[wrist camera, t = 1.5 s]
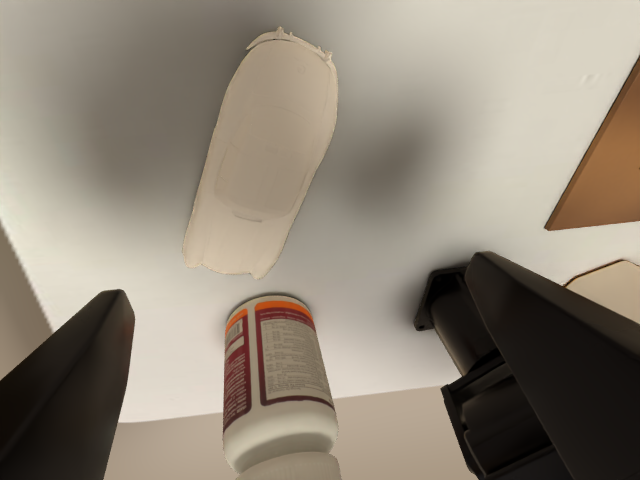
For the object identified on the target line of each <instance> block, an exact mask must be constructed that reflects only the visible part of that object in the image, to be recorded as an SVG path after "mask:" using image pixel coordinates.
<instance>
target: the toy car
mask: <svg viewBox="0 0 640 480" xmlns="http://www.w3.org/2000/svg"><path fill="white" fill-rule="evenodd" d="M283 32H284V29H283V28H282V27H280V26H279V27H278V29H277V31H276V32H267V33H264V34H262V35H260V36H259V37H257V38H256V39H255V40H254V41H253V42H252V43H251V44H250V45H249V46H248V47H247V49H246V50H249V49H250V48H251V47H253V46H254V45H256V44H257V45H256V47H254V48H253V49H252V50H251V51H250V52H249V53H248V54H247V55H246V57H245V58H244V59H243V61H242V62H241V64H240V65H239V67H238V69H237V71H236V73H235V74H234V76H233V78H232V80H231V82H230V84H229V86H228V88H227V91H226V93H225V96H224V99H223V102H222V106H221V109H220V112H219V116H218V120H217V125H216V127H215V128H214V132H213V135H212V139H211V143H210V147H209V151H208V155H207V156H206V157H207V159H206V162H205V166H204V170H203V173H202V177H201V181H200V185H199V187H198V190H197V194H196V197H195V201H194V205H193V206H194V207H193V213H192V216H191V218H190V221H189V224H188V227H187V231H186V234H185V238H184V243H183V248H182V253H183V255H184V261H185V264H186V266H187V267H189V268H196V267H197V266H199V265H200V264H201V265H204V266H205V267H207V268H209V269H211V270H213V271H215V272H218V273H222V274H231V275H235V274H244V273H250V274H251V275H252V276H253V278H255V279H261V278H263V277H264V276H265V275H266V274H267V273H268V272H269V270H270V269H271V268H272V267H273V266H274V264H275V263H276V261H277V260H278V258H279V256H280V254H281V251H282V249H283V247H284V244H285V242H286V239H287V236H288V233H289V231H290V228H291V226H292V224H293V222H294V220H295V217H296V215H297V213H298V211H299V209H300V207H301V204H302V202H303V200H304V198H305V195H306V193H307V191H308V188H309V186H310V184H311V181H312V179H313V176H314V174H315V172H316V170H317V168H318V166H319V165H320V163H321V161H322V159H323V157H324V155H325V153H326V151H327V149H328V146H329V144H330V141H331V139H332V136H333V132H334V129H335V125H336V120H337V104H338V77H337V72H336V68H335V66H334V64H333V62H332V61H331V57H332V53H331V52H329V51H327V50H325V52H322V51H321V50H320V49H321V47H320V46H318V47H317V48H316V47H315V46H313V45H311V44H309V43H308V42H306V41H304V40H302V39H299V38H297V37H295V36H292V34H293V33H292V32H290V34H286V33H283ZM269 39H276V40H269ZM281 39H285V40H289V41H284V40H281ZM265 40H268V41H265ZM262 41H265V42H262ZM290 41H292V42H290ZM260 42H261V43H260ZM294 42H295V43H294ZM258 43H259V44H258ZM297 43H298V44H297ZM302 45H303V46H302ZM304 46H305V47H304ZM306 47H307V48H306ZM311 50H312V51H311ZM314 52H315V53H316V54H315V53H314ZM318 55H319V56H320V57H321V58H320V57H319V56H318ZM263 139H264V140H263ZM227 148H228V149H227ZM226 150H227V151H226ZM225 153H226V154H225ZM224 156H225V157H224ZM223 159H224V160H223ZM222 162H223V163H222ZM221 165H222V166H221ZM220 168H221V169H220ZM219 171H220V173H219ZM219 175H220V176H219ZM217 179H218V180H217ZM224 179H225V180H224ZM227 181H228V182H227ZM216 183H217V185H216Z"/></svg>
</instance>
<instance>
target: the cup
mask: <svg viewBox="0 0 640 480" xmlns="http://www.w3.org/2000/svg"><path fill="white" fill-rule="evenodd" d="M565 288H567V289H569V290H571V291H573V292H575V293H577V294H579V295H582V296H584V297H586V298H588V299H590V300H592V301H594V302H596V303H598V304H600V305H602V306H604V307H606V308H608V309H610V310H612V311H614V312H616V313H618V314H620V315H623V316H625V317H627V318H629V319H631V320H633V321H635V322H637V323H639V324H640V267H639V266H637V265H634V264H632V263H630V262H628V261H620V262H617V263H615V264H612V265H609V266H607V267H604V268H601V269H599V270H596V271H594V272H591V273H588V274H586V275H583V276H580V277H578V278H575V279H574V280H573V281H571V282H570V283H569V284H568V285H567V286H566V287H565Z"/></svg>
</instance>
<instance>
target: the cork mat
mask: <svg viewBox="0 0 640 480" xmlns="http://www.w3.org/2000/svg"><path fill="white" fill-rule="evenodd" d="M635 221H640V58H639V60H638V62H637V63H636V65H635V67H634V69H633V70H632V72H631V74H630V76H629V78H628V79H627V81H626V83H625V85H624V87H623V88H622V90H621V92H620V94H619V96H618V97H617V99H616V101H615V103H614V105H613V106H612V108H611V110H610V112H609V114H608V115H607V117H606V119H605V121H604V122H603V124H602V126H601V128H600V130H599V131H598V133H597V135H596V137H595V139H594V140H593V142H592V144H591V146H590V148H589V149H588V151H587V153H586V155H585V157H584V158H583V160H582V162H581V164H580V166H579V167H578V169H577V171H576V173H575V174H574V176H573V178H572V180H571V182H570V183H569V185H568V187H567V189H566V191H565V192H564V194H563V196H562V198H561V200H560V201H559V203H558V205H557V207H556V209H555V210H554V212H553V214H552V216H551V217H550V219H549V221H548V223H547V225H546V226H545V229H547V230H548V231H553V230H562V229H571V228H580V227H590V226H599V225H608V224H617V223H626V222H635Z"/></svg>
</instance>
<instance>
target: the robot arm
mask: <svg viewBox="0 0 640 480" xmlns="http://www.w3.org/2000/svg"><path fill="white" fill-rule="evenodd" d="M134 326H135V315H134V311H133V309H132V307H131V305H130V302H129V300H128V298H127V296H126V293H125V292H124V291H123V290H121V289H115V290H106V291H102V292H100V293H99V294H98V295H97V296H95V297H94V298H93V299H92V300H91V301H90V302H89V303H88V304H86V305H85V306H84V307H83V308H82V309H81V310H80V311H78V312H77V313H76V314H75V315H74V316H73V317H72V318H71V319H69V320H68V321H67V322H66V323H65V324H64V325H63V326H62V327H60V328H59V329H58V330H57V331H56V332H55V333H54V334H53V335H52V336H50V337H49V338H48V339H47V340H46V341H45V342H43V344H41V345H40V346H39V347H38V348H37V349H36V350H34V351H33V352H32V353H31V354H30V355H29V356H28V357H27V358H25V359H24V360H23V361H22V362H21V363H20V364H19V365H17V366H16V367H15V368H14V369H13V370H12V371H11V372H10V373H8V374H7V375H6V376H5V377H4V378H3V379H2V380H1V381H0V480H103V479H104V474H105V471H106V467H107V462H108V459H109V455H110V451H111V447H112V443H113V439H114V435H115V431H116V427H117V423H118V419H119V415H120V411H121V407H122V403H123V399H124V395H125V391H126V386H127V380H128V374H129V366H130V358H131V350H132V342H133V334H134ZM414 327H415V328H416V330H417V331H423V330H429V329H435V331H436V333H437V334H438V336H439V338H440V340H441V341H442V343H443V345H444V346H445V348H446V350H447V352H448V353H449V355H450V357H451V358H452V360H453V362H454V363H455V365H456V367H457V369H458V370H459V372H460V374H461V375H462V377H461V378H459V379H458V380H456V381H454V382H453V383H451V384H449V385H448V384H447V385H445V386H443V387H442V388H441V392H442V395H443V398H444V403H445V406H446V409H447V411H448V415H449V417H450V420H451V423H452V426H453V428H454V431H455V434H456V437H457V440H458V442H459V445H460V448H461V451H462V453H463V456H464V459H465V462H466V465H467V467H468V469H469V471H470V472H471V473H473V474H475V475H476V476H477V478H478V479H479V480H640V324H639V323H637V322H635V321H633V320H631V319H629V318H627V317H625V316H623V315H620V314H618V313H616V312H614V311H612V310H610V309H608V308H606V307H604V306H602V305H600V304H598V303H596V302H594V301H592V300H590V299H588V298H586V297H584V296H582V295H579V294H577V293H575V292H573V291H571V290H569V289H567V288H565V287H563V286H561V285H559V284H557V283H555V282H553V281H551V280H549V279H547V278H545V277H543V276H541V275H539V274H536V273H534V272H532V271H530V270H528V269H526V268H524V267H522V266H520V265H518V264H516V263H514V262H512V261H510V260H508V259H506V258H504V257H502V256H500V255H498V254H496V253H493V252H491V251H483V252H477V253H475V254H474V255H473V257H472V259H471V261H470V264H469V266H468V267H461V268H453V269H445V270H438V271H435V272H433V273H432V274H431V275H430V277H429V280H428V283H427V286H426V289H425V292H424V295H423V298H422V301H421V304H420V307H419V310H418V314H417V317H416V320H415V323H414Z"/></svg>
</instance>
